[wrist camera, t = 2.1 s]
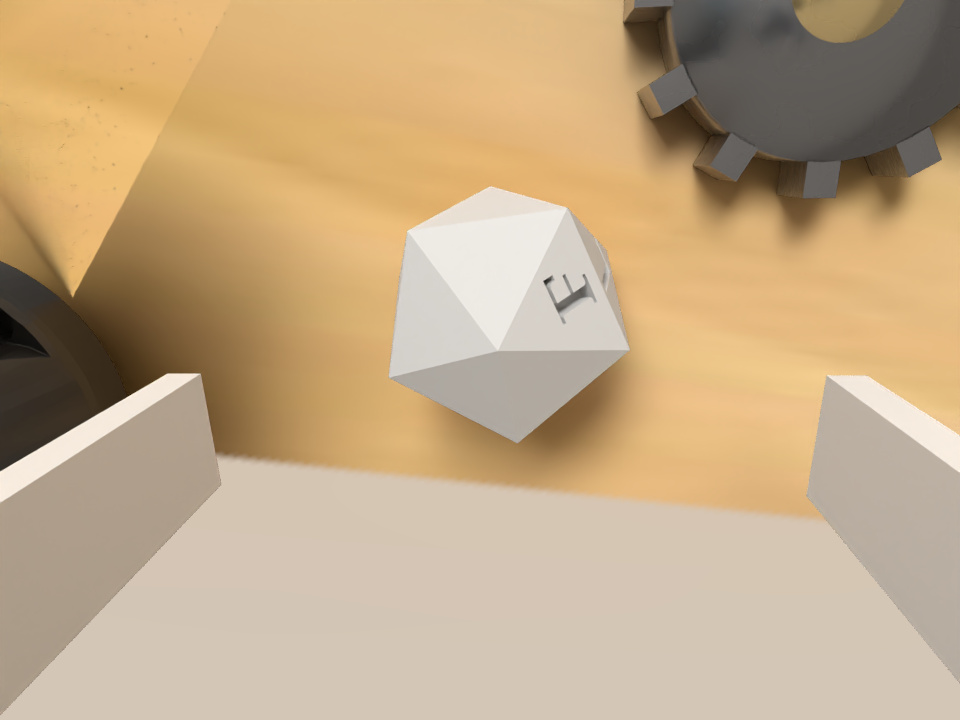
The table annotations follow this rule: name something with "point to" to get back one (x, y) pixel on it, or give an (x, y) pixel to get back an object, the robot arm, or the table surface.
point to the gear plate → (807, 82)
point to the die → (504, 311)
